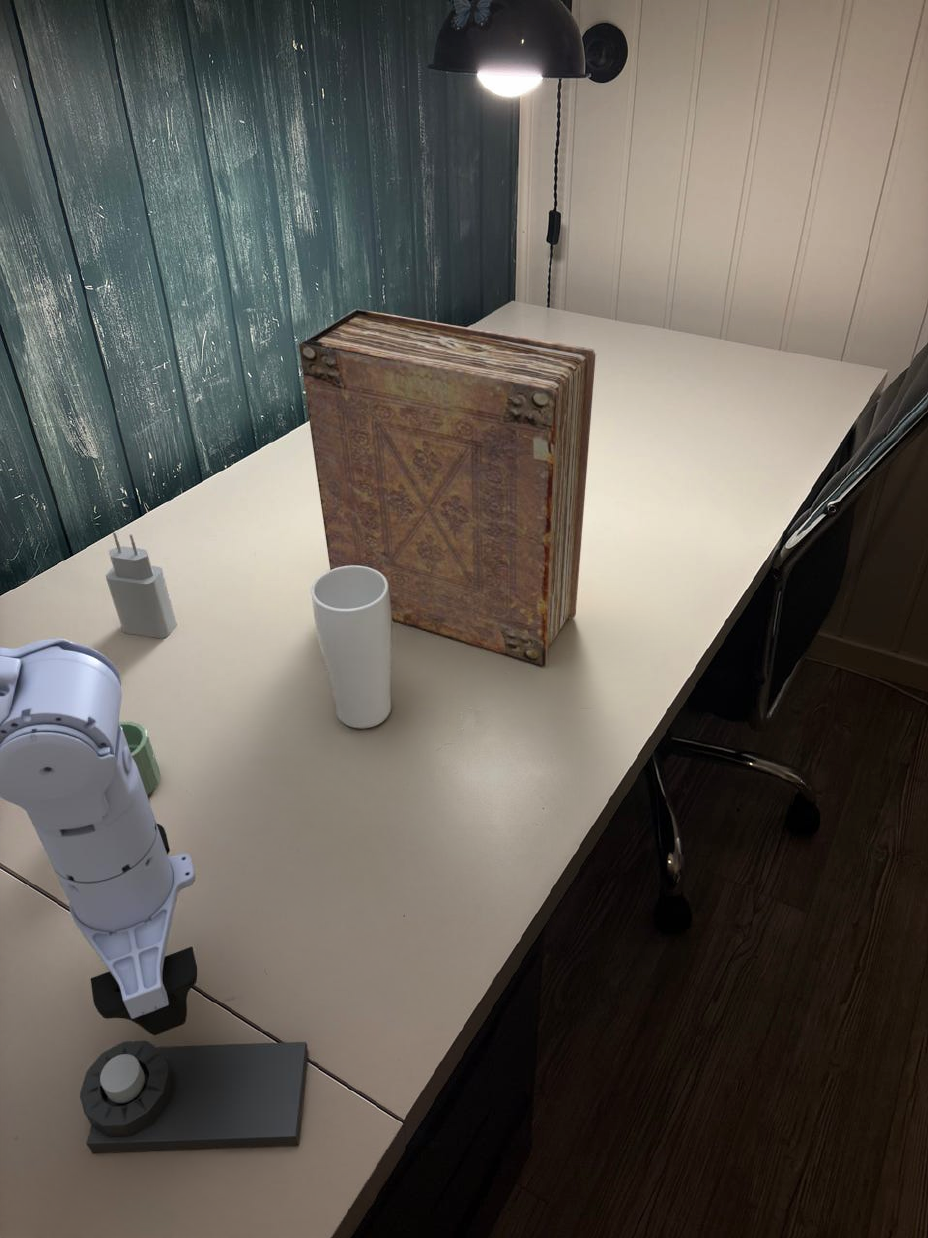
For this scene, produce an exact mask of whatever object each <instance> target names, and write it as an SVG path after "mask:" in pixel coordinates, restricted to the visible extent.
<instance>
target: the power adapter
mask: <svg viewBox="0 0 928 1238" xmlns="http://www.w3.org/2000/svg"><path fill="white" fill-rule="evenodd" d="M112 535H113V539H114V541H115V546H116V547H115V548H112V549H109V550H108V555H109V558H110V561H111V564H112V567H111V568H110V569H109V570H108V572H107V573H106V574H105V581H106V582H107V586H108V588H109V589H108V590H109V592H110V595H111V598H112V602H113V605H114V608H115V611H116V615H117V617H118V620H119V623H120V626H121V629H122V632H123V633H124V634H128V635H129V634H130V635H134V636H143V637H148V638H154V639H155V638H156V639H166V638H167V637H168V636H170V634H171V633H172V632H173V631H174V629H175V628H176V627H177V625H178V622H177V618H176V614H175V611H174V608H173V604H172V599H171V595H170V593H169V592H170V591H169V589H168V586H167V585H168V584H167V582H166V577H165V575H164V570H163V568H162V567H160V566H156V565H152V564H151V560H150V555H149V554H148V550H146V549H145V548H139V547H137V545H136V542H135V540H134V537H133V534H129V538H130V542H131V546H132V547H131V546H121V545H120V542H119V539H118V536H117V532H116V531H113V532H112Z"/></svg>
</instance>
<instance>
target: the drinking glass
mask: <svg viewBox="0 0 928 1238" xmlns="http://www.w3.org/2000/svg"><path fill="white" fill-rule="evenodd" d="M310 591H311V603H312V604H311V605H312V610H313V611H312V612H313V619H314V625H315V631H316V635H317V640H318V643H319V647H320V650H321V654H322V658H323V661H324V666H325V669H326V673H327V676H328V681H329V684H330V688H331V692H332V696H333V697H332V698H333V701H334V707H335V713H336V715H337V717H338V719H339V720H340V721H341V723H343V724H344V725H346V726H348V727H350V728H354V729H370V728H373V727H376V726H378V725H380V724H382V723H383V722H384V721H386V720H387V718H388V717H389V715H390V714H391V710H392V691H391V690H392V689H391V686H392V685H391V683H392V682H391V680H392V641H393V620H392V613H391V602H390V595H389V588H388V582H387V580H386V578H385V577H384V576H383V575H382V574H381V573H380V572H379V571H377V570H375V569H372V568H369V567H365V566H357V565H352V566H343V567H338V568H335V569H332V570H330V569H329V570H328V571H326V572H323V573H322V574H321V575H320V576H318V577H317V578H316V579H315V581H314V582H313V584H312V586H311V590H310Z"/></svg>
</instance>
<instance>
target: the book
mask: <svg viewBox="0 0 928 1238" xmlns="http://www.w3.org/2000/svg"><path fill="white" fill-rule="evenodd" d="M298 348H299V356H300V363H301V369H302V376H303V385H304V392H305V401H306V405H307V413H308V420H309V426H310V434H311V435H310V436H311V441H312V448H313V455H314V463H315V464H314V465H315V470H316V478H317V484H318V485H317V486H318V492H319V499H320V506H321V514H322V520H323V529H324V536H325V541H326V543H325V544H326V550H327V556H328V557H327V558H328V563H329V571H330V570H332V569H335V568H338V567H343V566H352V565H357V566H365V567H369V568H372V569H375V570H377V571H379V572H380V573H381V574H382V575H383V576H384V577H385V578H386V580H387V582H388V588H389V595H390V602H391V613H392V622H397V623H400V624H403V625H406V626H410V627H413V628H416V629H419V630H422V631H425V632H428V633H432V634H434V635H438V636H441V637H444V638H446V639H451V640H453V641H457V642H460V643H463V644H465V645H469V646H473V647H475V648H479V649H482V650H485V651H487V652H492V653H493V654H494V653H495V654H497V655H501V656H504V657H507V658H510V659H513V660H516V661H520V662H523V663H526V664H529V665H533V666H535V667H538V668H544V667H545V666H546V665H547V663H548V648H549V647H550V645H551V644H552V643H553V641H554V639H555V638H556V637H557V635H558V633H559V631H560V630H561V629H562V627H563V626H564V624H565V623H566V621H567V620H568V619H573V618H574V617H576V615H577V603H578V591H579V578H580V576H579V575H580V563H581V551H582V537H583V527H584V526H583V525H584V524H583V523H584V512H585V498H586V485H587V473H588V472H587V471H588V461H589V460H588V458H589V446H590V435H591V433H590V432H591V421H592V408H593V407H592V406H593V393H594V381H595V380H594V379H595V367H596V357H597V355H596V352H595V351H594V350H595V349H594V348H589V347H583V346H576V345H571V344H566V343H560V342H553V341H549V340H542V339H535V338H530V337H524V336H518V335H512V334H506V333H500V332H495V331H488V330H482V329H477V328H471V327H465V326H459V325H454V324H448V323H442V322H436V321H429V320H424V319H418V318H413V317H406V316H401V315H394V314H389V313H382V312H377V311H370V310H364V309H359V308H355V309H353V310H351V311H350V312H349V313H347V314H345V315H343V316H342V317H341V318H339V319H337V320H336V321H334V322H333V323H331V324H330V325H328V326H326V327H324V328H323V329H322V330H320V331H318V332H317V333H315V334H314V335H312V336H310V337H309V338H307V339H306V340H304V341H302V342H301V343H300V344H298Z"/></svg>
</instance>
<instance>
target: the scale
mask: <svg viewBox="0 0 928 1238" xmlns="http://www.w3.org/2000/svg"><path fill="white" fill-rule="evenodd" d="M122 1054H129V1055H132V1056H134V1057H135V1058H136V1059H137V1060H138V1062H139V1064H140V1066H141V1068H142V1070H143V1072H144V1074H145V1084H144V1087H143V1089H142V1091H141V1092H140V1093H139V1095H138V1096H137V1097H135V1098H134V1099H133V1100H131V1101H129V1102H126V1103H115V1102H113V1101H111V1100H110V1099H109V1098H108V1096H107V1094H106V1093H105V1091H104V1089H103V1087H102V1086H101V1082H100V1076H101V1072H102V1070H103V1068H104V1066H105V1065H106V1064H107V1063H108V1062H109V1061H110V1060H111V1059H112V1058H114V1057H116V1056H118V1055H122ZM308 1060H309V1047H308V1044H307V1041H289V1042H288V1041H287V1042H261V1043H259V1042H258V1043H233V1044H232V1043H231V1044H205V1045H203V1044H201V1045H175V1046H156V1045H154V1044H153V1043H151V1042H150V1041H148V1040H129V1041H128V1040H126V1041H122V1042H121V1043H118V1044H116V1045H115V1046H112V1047H111V1048H109V1049H107V1050H105V1051H104V1052H101V1054H100V1055H99V1056H98V1057H97V1058H96V1059H95V1061H94V1062H93V1063H92V1064H91V1066H90V1067H89V1068H88V1069H87V1071H86V1072H85V1076H84V1079H83V1082H82V1085H81V1089H80V1092H79V1098H80V1101H81V1105H82V1108H83V1113H84V1116H85V1117H86V1118H87V1120H88V1122H89V1123H90V1125H91V1126H90V1129H89V1133H88V1136H87V1140H86V1143H85V1144H86V1146H87V1147H88V1149H89V1150H90V1152H91V1153H92V1154H103V1153H106V1154H107V1153H134V1152H158V1151H159V1152H161V1151H185V1150H186V1151H188V1150H217V1149H238V1148H239V1149H241V1148H242V1149H243V1148H246V1149H247V1148H267V1147H268V1148H269V1147H270V1148H271V1147H272V1148H273V1147H297V1146H299V1145H300V1138H301V1137H300V1136H301V1128H302V1127H301V1126H302V1119H303V1118H302V1117H303V1109H304V1100H305V1099H304V1098H305V1090H306V1089H305V1088H306V1081H307V1070H308V1062H309V1061H308Z"/></svg>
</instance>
